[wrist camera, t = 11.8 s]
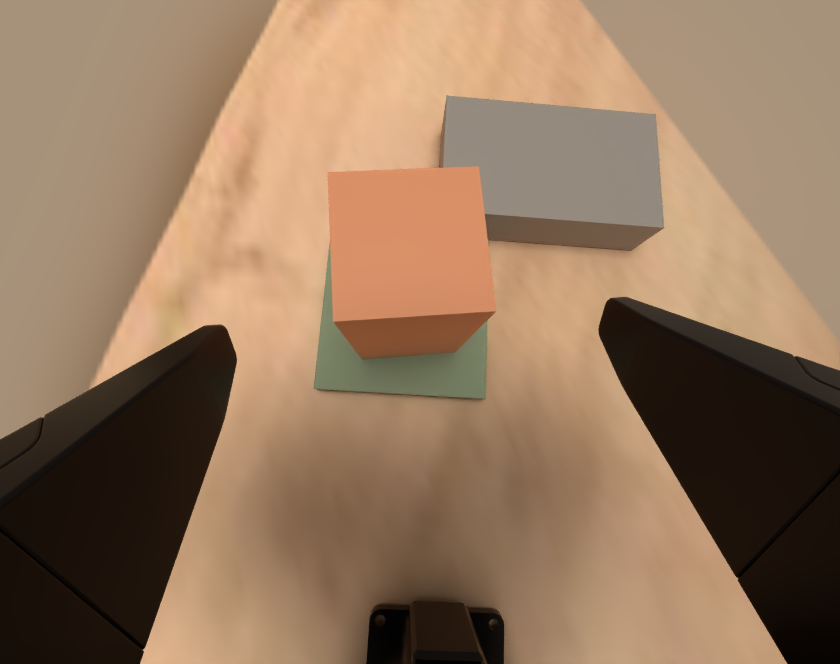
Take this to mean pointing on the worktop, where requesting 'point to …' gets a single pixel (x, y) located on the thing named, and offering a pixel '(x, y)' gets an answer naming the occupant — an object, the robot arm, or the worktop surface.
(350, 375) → the green mat
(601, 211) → the slate block
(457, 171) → the terracotta block
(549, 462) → the worktop surface
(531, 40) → the worktop surface
